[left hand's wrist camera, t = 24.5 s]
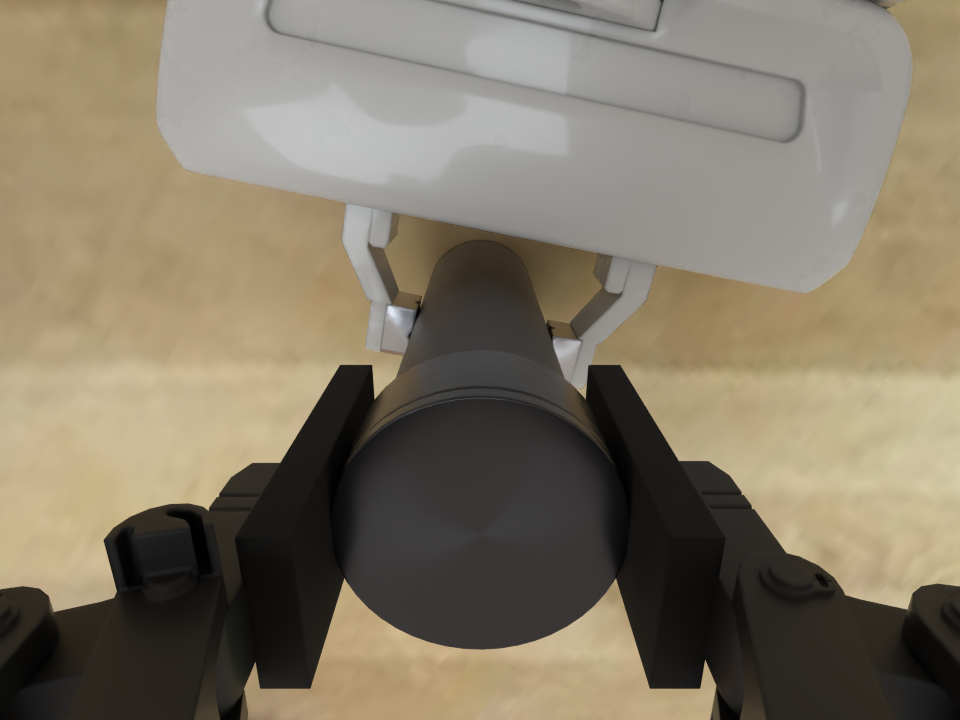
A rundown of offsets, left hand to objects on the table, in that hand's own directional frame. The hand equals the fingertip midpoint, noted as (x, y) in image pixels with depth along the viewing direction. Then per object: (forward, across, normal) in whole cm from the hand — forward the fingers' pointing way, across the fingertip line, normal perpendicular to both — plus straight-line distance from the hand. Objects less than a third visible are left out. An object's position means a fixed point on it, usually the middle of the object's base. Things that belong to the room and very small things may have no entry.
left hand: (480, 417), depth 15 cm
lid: (-4, 0, 0) cm, 4 cm away
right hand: (+6, 0, -1) cm, 6 cm away
